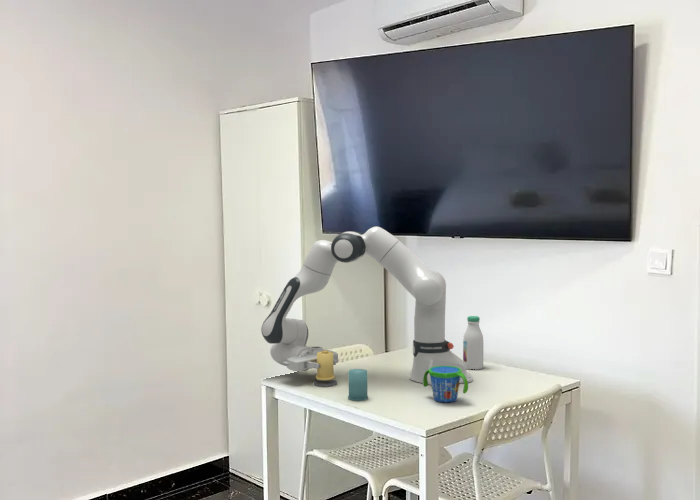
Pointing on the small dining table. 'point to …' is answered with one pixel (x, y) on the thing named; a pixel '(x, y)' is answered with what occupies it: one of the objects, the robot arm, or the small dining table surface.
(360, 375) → the canister
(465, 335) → the milk bottle
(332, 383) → the mat
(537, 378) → the small dining table surface
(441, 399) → the snack cup
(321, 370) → the tan cylinder
